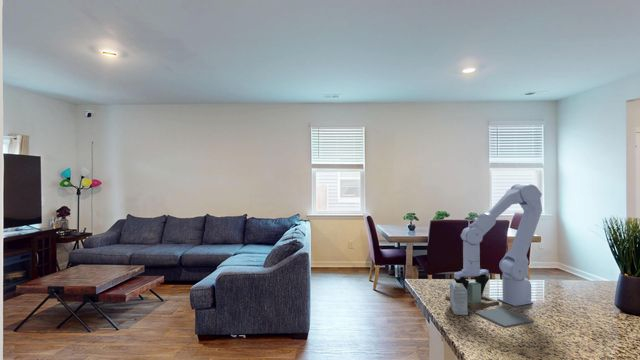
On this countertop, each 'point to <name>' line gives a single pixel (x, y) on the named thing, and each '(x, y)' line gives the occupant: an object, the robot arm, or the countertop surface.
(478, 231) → the robot arm
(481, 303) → the holder frame
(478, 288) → the sage block
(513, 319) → the rubber mat
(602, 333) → the countertop surface
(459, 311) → the medicine box
